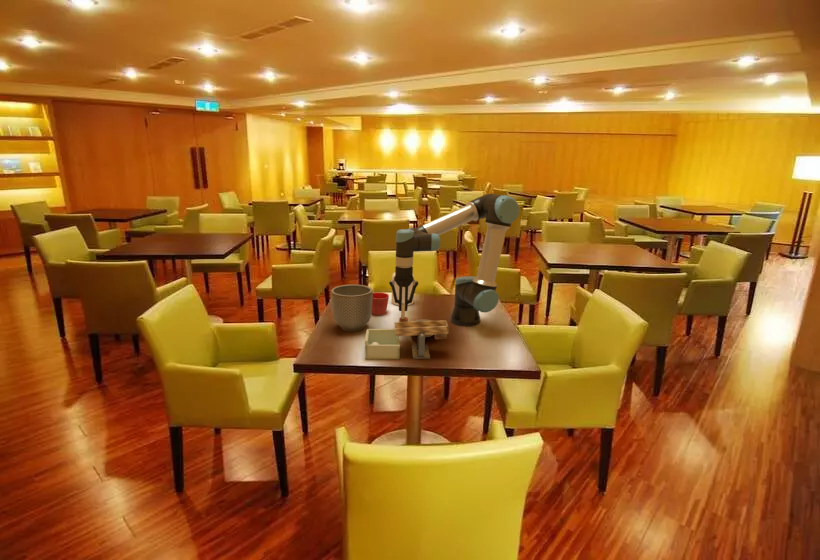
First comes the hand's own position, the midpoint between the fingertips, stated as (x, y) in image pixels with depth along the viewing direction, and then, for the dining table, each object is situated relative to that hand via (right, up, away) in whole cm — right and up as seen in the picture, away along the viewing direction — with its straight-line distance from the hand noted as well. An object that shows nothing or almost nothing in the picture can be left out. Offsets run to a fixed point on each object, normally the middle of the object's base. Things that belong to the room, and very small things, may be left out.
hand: (402, 317), depth 199 cm
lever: (+8, -6, -5) cm, 11 cm away
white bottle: (-1, +4, +56) cm, 56 cm away
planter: (-24, -7, +17) cm, 31 cm away
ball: (-12, -11, -10) cm, 19 cm away
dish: (+10, -10, +9) cm, 17 cm away
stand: (+8, -14, -8) cm, 18 cm away
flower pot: (-13, -1, +39) cm, 41 cm away
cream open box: (-8, -14, -9) cm, 19 cm away
